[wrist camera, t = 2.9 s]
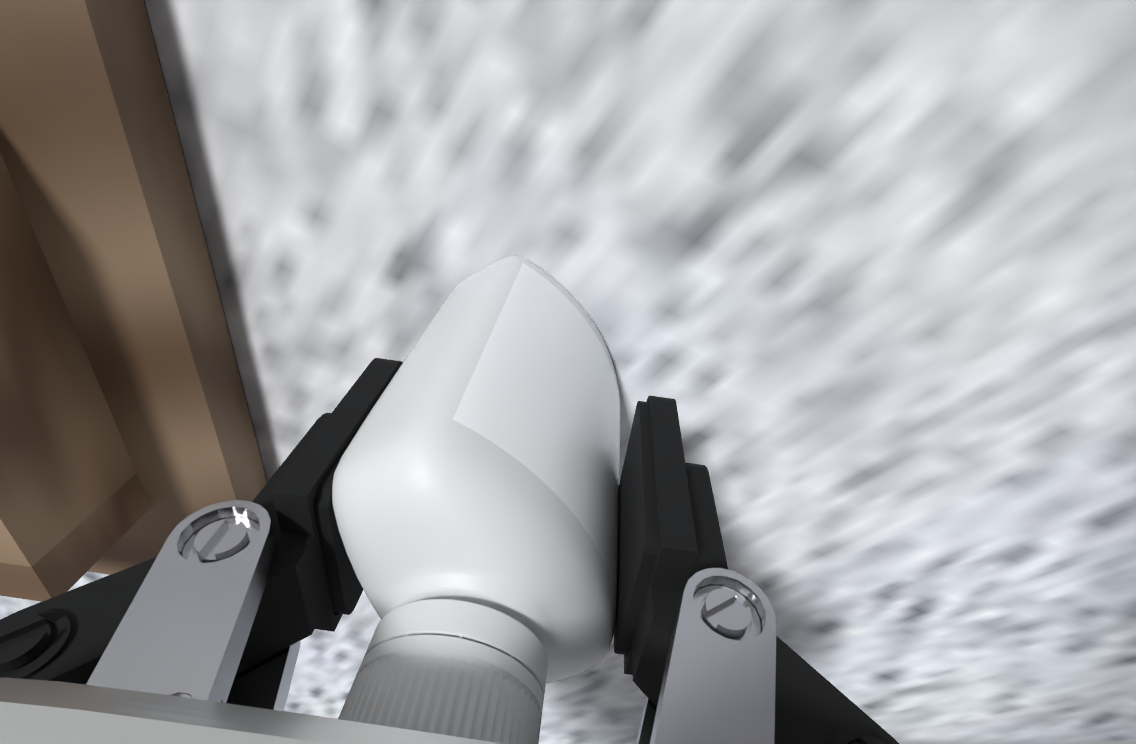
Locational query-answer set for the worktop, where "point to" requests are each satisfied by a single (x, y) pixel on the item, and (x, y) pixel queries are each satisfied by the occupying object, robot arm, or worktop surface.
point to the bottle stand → (103, 307)
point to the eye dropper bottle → (486, 511)
